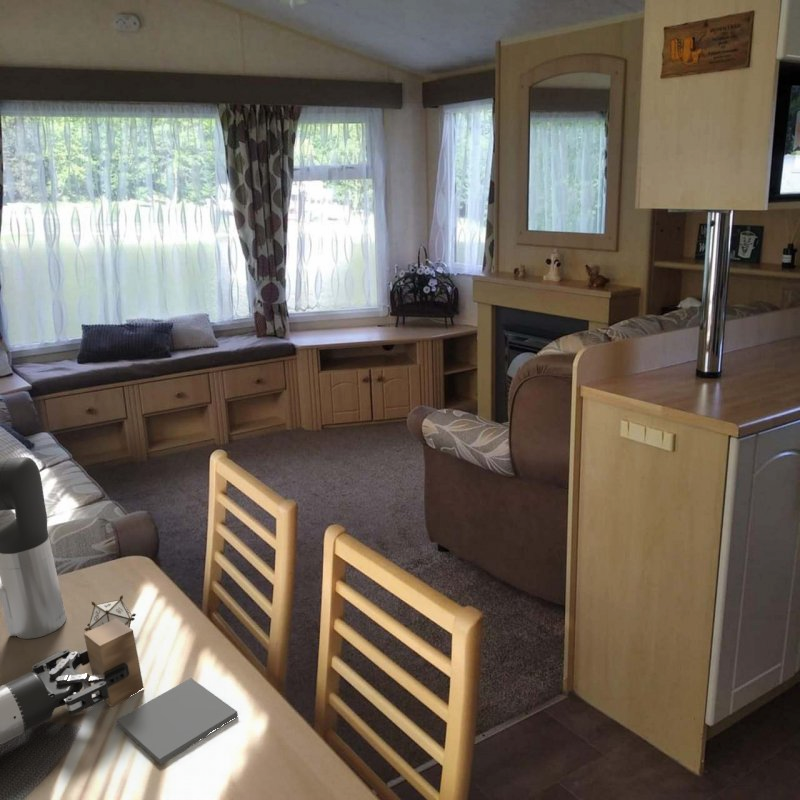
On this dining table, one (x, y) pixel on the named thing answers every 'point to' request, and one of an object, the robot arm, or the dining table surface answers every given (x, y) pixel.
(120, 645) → the walnut block
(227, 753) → the dining table surface
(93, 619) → the game die
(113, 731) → the dining table surface
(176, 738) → the rubber mat
